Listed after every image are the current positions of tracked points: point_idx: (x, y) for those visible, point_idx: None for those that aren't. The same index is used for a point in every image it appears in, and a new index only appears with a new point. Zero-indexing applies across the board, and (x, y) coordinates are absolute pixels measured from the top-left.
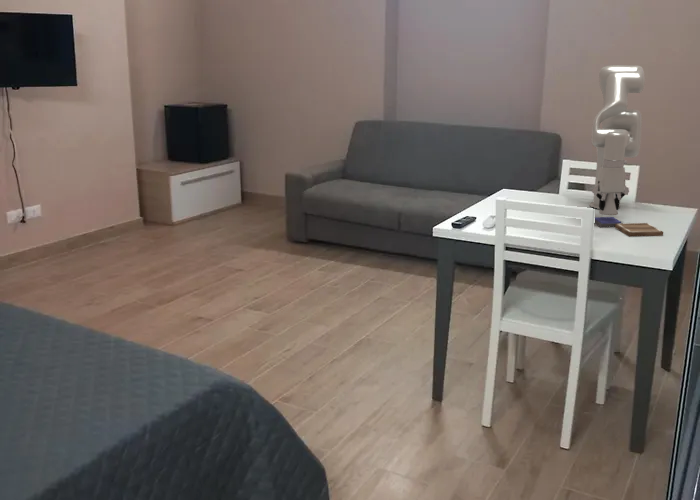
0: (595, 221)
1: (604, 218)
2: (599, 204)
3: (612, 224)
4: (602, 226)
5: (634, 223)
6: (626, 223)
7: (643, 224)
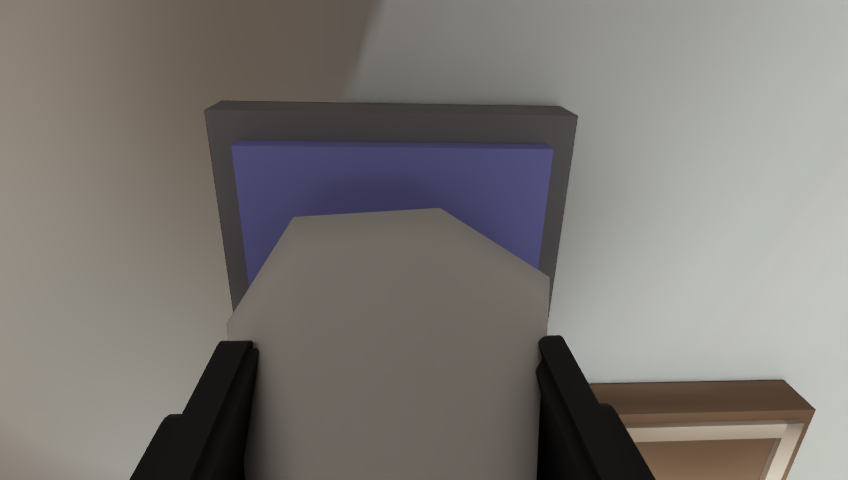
0: (227, 242)
1: None
2: (147, 473)
3: None
4: None
5: (648, 437)
6: None
7: (727, 453)
